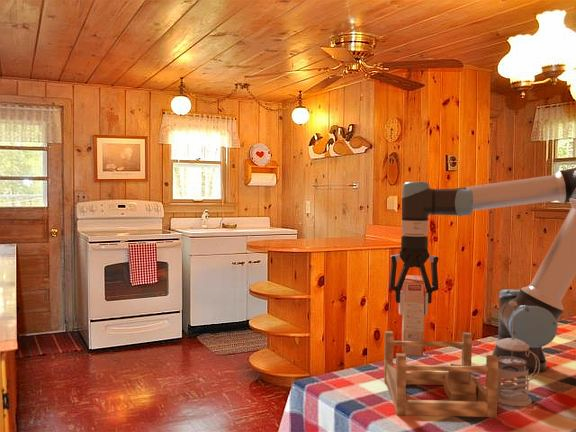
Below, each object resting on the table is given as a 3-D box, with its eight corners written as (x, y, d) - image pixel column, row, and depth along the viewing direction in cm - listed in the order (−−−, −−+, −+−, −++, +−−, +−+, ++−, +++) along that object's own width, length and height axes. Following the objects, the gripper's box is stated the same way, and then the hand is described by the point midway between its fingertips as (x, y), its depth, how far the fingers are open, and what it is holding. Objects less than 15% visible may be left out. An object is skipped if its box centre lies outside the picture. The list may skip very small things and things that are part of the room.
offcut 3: (466, 391, 138) (466, 382, 137) (476, 405, 129) (476, 395, 129) (443, 391, 138) (443, 381, 138) (452, 404, 129) (452, 394, 129)
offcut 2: (468, 383, 137) (468, 374, 137) (476, 395, 129) (476, 385, 129) (445, 382, 137) (445, 373, 137) (451, 393, 129) (451, 383, 129)
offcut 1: (470, 375, 135) (470, 366, 135) (469, 384, 129) (469, 374, 129) (450, 373, 137) (450, 363, 137) (448, 381, 131) (448, 372, 131)
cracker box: (424, 357, 144) (425, 282, 144) (402, 356, 146) (403, 281, 145) (421, 343, 158) (422, 274, 157) (401, 342, 159) (402, 274, 158)
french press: (484, 390, 137) (486, 296, 136) (529, 391, 137) (531, 297, 136) (498, 405, 127) (500, 304, 126) (546, 406, 127) (549, 305, 126)
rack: (468, 383, 142) (469, 332, 142) (496, 417, 121) (498, 357, 120) (384, 381, 144) (384, 331, 143) (396, 414, 122) (397, 355, 121)
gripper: (382, 235, 147) (381, 316, 148) (452, 236, 146) (450, 317, 147) (379, 233, 155) (377, 310, 156) (445, 234, 154) (443, 311, 155)
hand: (412, 313), depth 151 cm, fingers closed on cracker box, 6 cm apart
